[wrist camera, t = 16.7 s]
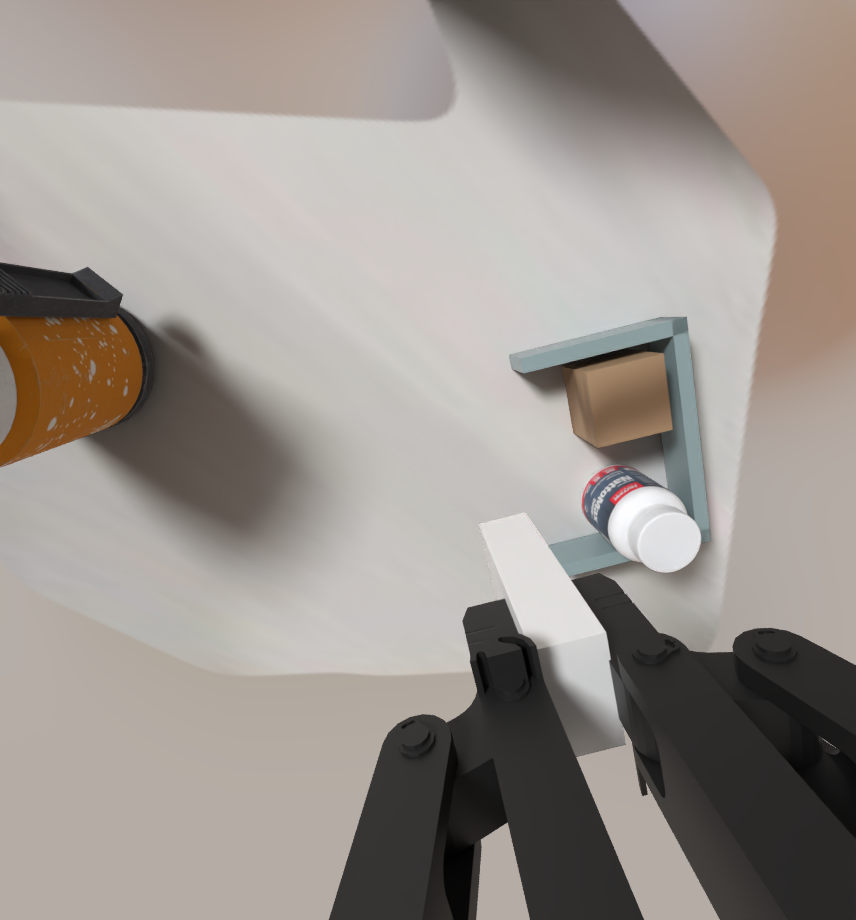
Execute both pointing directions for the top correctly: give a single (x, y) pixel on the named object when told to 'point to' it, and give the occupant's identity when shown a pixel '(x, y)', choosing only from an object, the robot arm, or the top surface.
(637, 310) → the top surface
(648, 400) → the tan block
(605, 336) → the box
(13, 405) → the canister
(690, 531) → the pill bottle
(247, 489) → the top surface
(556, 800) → the robot arm
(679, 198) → the top surface
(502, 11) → the top surface
